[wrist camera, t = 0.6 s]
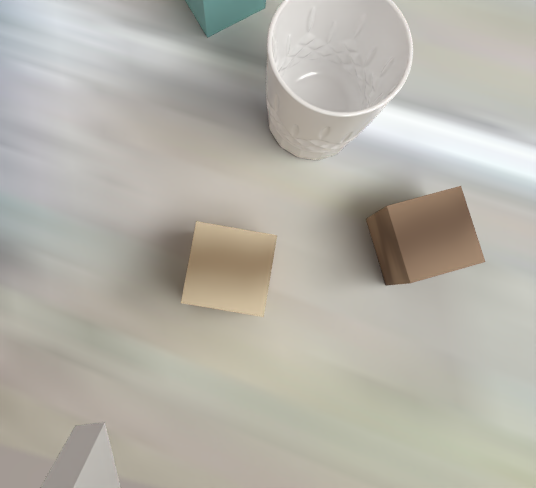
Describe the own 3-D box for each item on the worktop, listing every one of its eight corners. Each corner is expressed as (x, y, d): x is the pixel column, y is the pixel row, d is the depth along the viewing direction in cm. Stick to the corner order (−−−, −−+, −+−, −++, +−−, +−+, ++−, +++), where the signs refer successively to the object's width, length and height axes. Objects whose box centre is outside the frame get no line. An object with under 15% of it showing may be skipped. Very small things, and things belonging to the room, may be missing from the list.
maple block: (259, 314, 33) (263, 316, 28) (189, 302, 33) (180, 303, 28) (271, 244, 34) (276, 235, 29) (202, 232, 34) (196, 221, 29)
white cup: (313, 190, 35) (343, 146, 25) (236, 115, 35) (236, 41, 25) (386, 118, 36) (443, 48, 26) (311, 45, 36) (338, -52, 26)
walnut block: (449, 267, 35) (485, 261, 30) (385, 285, 34) (410, 283, 29) (429, 201, 35) (460, 186, 30) (365, 219, 35) (386, 205, 30)
